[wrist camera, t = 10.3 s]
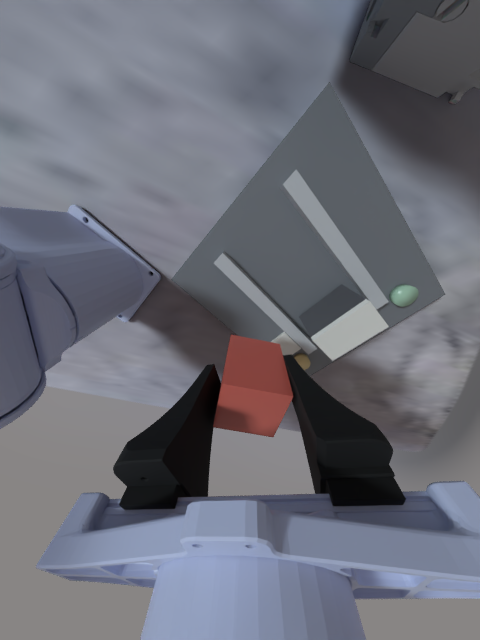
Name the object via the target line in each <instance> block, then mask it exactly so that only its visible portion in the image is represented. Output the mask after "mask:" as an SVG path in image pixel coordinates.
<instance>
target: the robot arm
mask: <svg viewBox="0 0 480 640" xmlns="http://www.w3.org/2000/svg"><path fill="white" fill-rule="evenodd" d="M86 218H88V222H87V221H86ZM150 271H151V272H153V275H151V274H150ZM160 279H161V275H160V274H159V273H158V272H157V271H156V270H155V269H153V268H152V267H151V266H150V265H149V264H148V263H146V262H145V261H144V260H143V259H142V258H140V257H139V256H138V255H137V254H136V253H134V252H133V251H132V250H131V249H130V248H129V247H127V246H126V245H125V244H124V243H123V242H121V241H120V240H119V239H118V238H117V237H115V236H114V235H113V234H112V233H111V232H109V231H108V230H107V229H106V228H105V227H104V226H102V225H101V224H100V223H99V222H98V221H96V220H95V219H94V218H93V217H92V216H90V215H89V214H88V213H87V212H86V211H85V210H83V209H82V208H81V207H80V206H78V205H71V206H70V208H69V210H68V212H58V211H46V210H35V209H24V208H12V207H1V206H0V429H1V428H3V427H4V426H6V425H8V424H9V423H11V422H12V421H14V420H15V419H17V418H18V417H20V416H21V415H22V414H23V413H24V412H26V411H27V410H28V409H29V408H30V407H32V405H33V404H34V403H35V402H36V401H37V400H38V398H39V397H40V396H41V394H42V393H43V391H44V388H45V386H46V375H45V372H46V371H47V370H48V369H50V368H51V367H53V366H54V365H55V364H57V363H58V362H60V361H61V355H62V353H63V352H64V351H65V350H67V349H68V348H69V347H71V346H73V345H74V344H76V343H77V342H79V341H80V340H82V339H83V338H85V337H86V336H88V335H89V334H91V333H92V332H94V331H95V330H97V329H98V328H100V327H101V326H103V325H104V324H106V323H107V322H109V321H110V320H112V319H113V318H115V317H117V318H118V319H120V320H121V321H123V322H127V321H129V320H130V319H131V317H132V316H133V315H134V313H135V312H136V311H137V309H138V308H139V307H140V306H141V304H142V303H143V302H144V300H145V299H146V298H147V296H148V295H149V294H150V293H151V291H152V290H153V289H154V287H155V286H156V285H157V283H158V282H159V281H160ZM120 314H121V315H122V316H121V315H120ZM283 358H284V362H285V366H286V370H287V374H288V377H289V381H290V385H291V389H292V393H293V398H292V402H293V405H294V408H295V411H296V414H297V417H298V421H299V424H300V428H301V433H302V437H303V441H304V446H305V450H306V454H307V459H308V463H309V467H310V472H311V476H312V481H313V485H314V490H315V494H293V495H254V496H218V497H217V496H216V497H208V480H209V464H210V452H211V443H212V434H213V424H214V419H215V413H216V408H217V403H218V398H219V392H220V387H221V382H220V379H219V376H218V374H217V371H216V368H215V365H214V364H212V365H207V366H206V367H205V368H204V370H203V371H202V372H201V374H200V375H199V376H198V378H197V379H196V380H195V382H194V383H193V384H192V386H191V387H190V388H189V389H188V391H187V392H186V393H185V394H184V395H183V396H182V398H181V399H180V400H179V401H178V402H177V403H176V404H175V405H174V406H173V407H172V408H171V409H170V410H169V411H168V412H166V413H165V414H164V415H163V416H162V417H161V418H160V419H159V420H157V421H156V422H155V423H154V424H152V425H151V426H150V427H148V428H147V429H146V430H145V431H143V432H142V433H140V434H139V435H137V436H136V437H134V438H133V439H132V440H130V441H129V442H127V444H126V446H125V447H124V449H123V451H122V453H121V454H120V456H119V458H118V460H117V461H116V463H115V465H114V467H113V470H114V474H115V475H116V476H117V477H118V478H119V479H120V480H121V481H122V482H123V483H124V484H125V485H126V486H127V488H126V491H125V492H124V495H123V497H122V499H109V497H108V496H107V495H105V494H103V493H82V494H81V495H80V497H79V498H78V500H77V502H76V503H75V505H74V506H73V508H72V510H71V511H70V513H69V514H68V516H67V517H66V519H65V521H64V522H63V524H62V526H61V527H60V529H59V530H58V532H57V533H56V535H55V536H54V538H53V540H52V541H51V543H50V544H49V546H48V548H47V549H46V551H45V552H44V554H43V555H42V557H41V559H40V560H39V562H38V563H37V565H36V568H37V569H40V570H43V571H45V572H48V573H51V574H54V575H57V576H60V577H63V578H66V579H68V580H72V581H89V582H102V583H113V584H121V585H132V586H140V587H149V588H154V590H153V593H152V597H151V601H150V605H149V609H148V612H147V616H146V619H145V624H144V627H143V631H142V635H141V639H140V640H366V638H365V634H364V630H363V627H362V623H361V620H360V617H359V613H358V610H357V606H356V602H355V599H420V598H469V599H472V598H473V599H480V497H479V496H478V494H477V493H476V492H475V491H474V490H473V489H472V488H471V486H470V485H469V484H468V483H467V482H464V481H449V482H434V483H431V484H429V485H428V486H427V489H426V491H414V492H413V491H411V492H402V491H401V489H400V488H399V486H398V484H397V482H396V481H395V479H394V476H395V475H394V472H393V471H392V469H391V467H390V466H389V463H390V460H391V457H392V454H393V449H392V447H391V445H390V443H389V442H388V440H387V439H386V437H385V436H384V435H383V434H382V432H381V431H380V430H379V429H378V427H377V426H376V425H375V424H373V423H372V422H370V421H368V420H366V419H365V418H363V417H361V416H359V415H358V414H356V413H354V412H353V411H351V410H350V409H348V408H347V407H345V406H344V405H343V404H341V403H340V402H338V401H337V400H336V399H334V398H333V397H332V396H330V395H329V394H328V393H327V392H326V391H324V390H323V389H322V388H321V387H320V386H319V385H318V384H317V383H316V382H315V381H314V380H313V379H312V378H311V377H310V376H309V375H308V374H307V373H306V372H305V371H304V370H303V369H302V367H301V366H300V365H299V364H298V362H297V361H296V360H295V358H294V357H293V355H291V354H290V355H283Z"/></svg>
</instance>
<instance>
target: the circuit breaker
mask: <svg viewBox="0 0 480 640" xmlns="http://www.w3.org/2000/svg"><path fill="white" fill-rule="evenodd" d="M350 62H352V63H354V64H357V65H359V66H362V67H364V68H366V69H369V70H371V71H374V72H376V73H379V74H381V75H383V76H386V77H388V78H391V79H393V80H396V81H398V82H400V83H403V84H405V85H408V86H410V87H413V88H415V89H417V90H420V91H422V92H425V93H427V94H430V95H432V96H434V97H437V98H438V97H439V96H441V95H442V94H444V93H445V92H448V93H450V94H453V95H452V97H451V99H450V101H449V103H451V104H455V103H457V102H459V101H460V99H461V98H462V96H463V94H464V93H465V92H467V91H468V90H470V89H471V88H473V87H475V88H477V89H480V71H479V70H480V0H371V2H370V4H369V7H368V10H367V13H366V16H365V18H364V21H363V24H362V27H361V30H360V32H359V35H358V38H357V41H356V43H355V46H354V49H353V52H352V55H351V57H350Z"/></svg>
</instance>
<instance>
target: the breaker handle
mask: <svg viewBox="0 0 480 640" xmlns="http://www.w3.org/2000/svg"><path fill="white" fill-rule="evenodd" d="M299 318H300V319H301V321H302V323H303V325H304V326H305V328H306V330H307V332H308V334H309V335H310V337H311V339H312V341H313V342H314V343H315V344H316V345H317V346H318V347H319V348H320V349H321V350H322V351H323V352H324V353H325V354H326V355H327V356H328V357H329V358H330V359H331V360H332V361H333V360H335V359H337V358H338V357H340V356H342V355H343V354H345V353H347V352H348V351H350V350H352V349H353V348H355V347H356V346H358V345H360V344H361V343H363V342H365V341H366V340H368V339H370V338H371V337H373V336H375V335H376V334H378V333H380V332H381V331H383V330H384V329H386V328H388V327H389V326H388V325H387V323H386V322H385V321H384V319H383V318H382V317H381V315H380V314H379V313H378V311H377V310H376V309H375V307H374V306H373V305H372V303H371V302H370V301H369V300H367V299H365V298H364V297H362V296H360V295H359V294H357V293H355V292H354V291H352V290H350V289H349V288H347V287H345V286H344V285H342V284H341V285H340V286H338V287H337V288H336V289H334V290H333V291H332V292H331V293H329V294H328V295H327V296H325V297H324V298H323V299H321V300H320V301H319V302H317V303H316V304H315V305H314V306H312V307H311V308H310V309H308V310H307V311H306V312H304V313H303V314H302V315H301V316H299Z"/></svg>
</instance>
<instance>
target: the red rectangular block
mask: <svg viewBox="0 0 480 640" xmlns="http://www.w3.org/2000/svg"><path fill="white" fill-rule="evenodd" d="M292 398H293V393H292V389H291V385H290V381H289V377H288V374H287V370H286V366H285V362H284V358H283V354H282V350H281V346H280V344H278V343H273V342H267V341H262V340H257V339H252V338H247V337H242V336H236V335H231V336H230V341H229V346H228V351H227V356H226V361H225V366H224V371H223V376H222V381H221V387H220V392H219V398H218V403H217V408H216V413H215V419H214V424H213V427H216V428H222V429H227V430H233V431H239V432H245V433H251V434H257V435H263V436H268V437H274V435H275V433H276V430H277V429H278V427H279V425H280V423H281V421H282V419H283V417H284V415H285V413H286V411H287V408H288V406H289V404H290V402H291V400H292Z"/></svg>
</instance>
